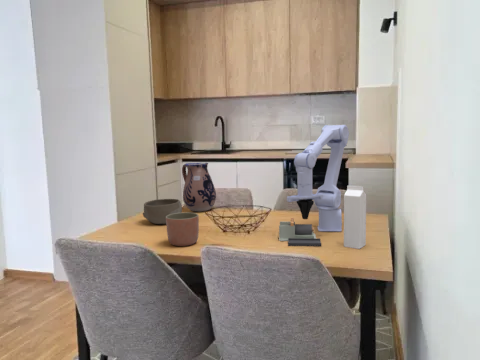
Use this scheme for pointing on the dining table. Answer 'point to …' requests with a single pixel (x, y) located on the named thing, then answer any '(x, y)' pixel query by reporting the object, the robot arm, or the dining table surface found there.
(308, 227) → the grey roller spool
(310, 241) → the dark grey roller cradle
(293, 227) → the white roller cradle
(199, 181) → the ceramic pitcher
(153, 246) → the dining table surface
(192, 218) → the planter
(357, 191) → the milk
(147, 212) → the bowl
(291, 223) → the long tan wooden plank
